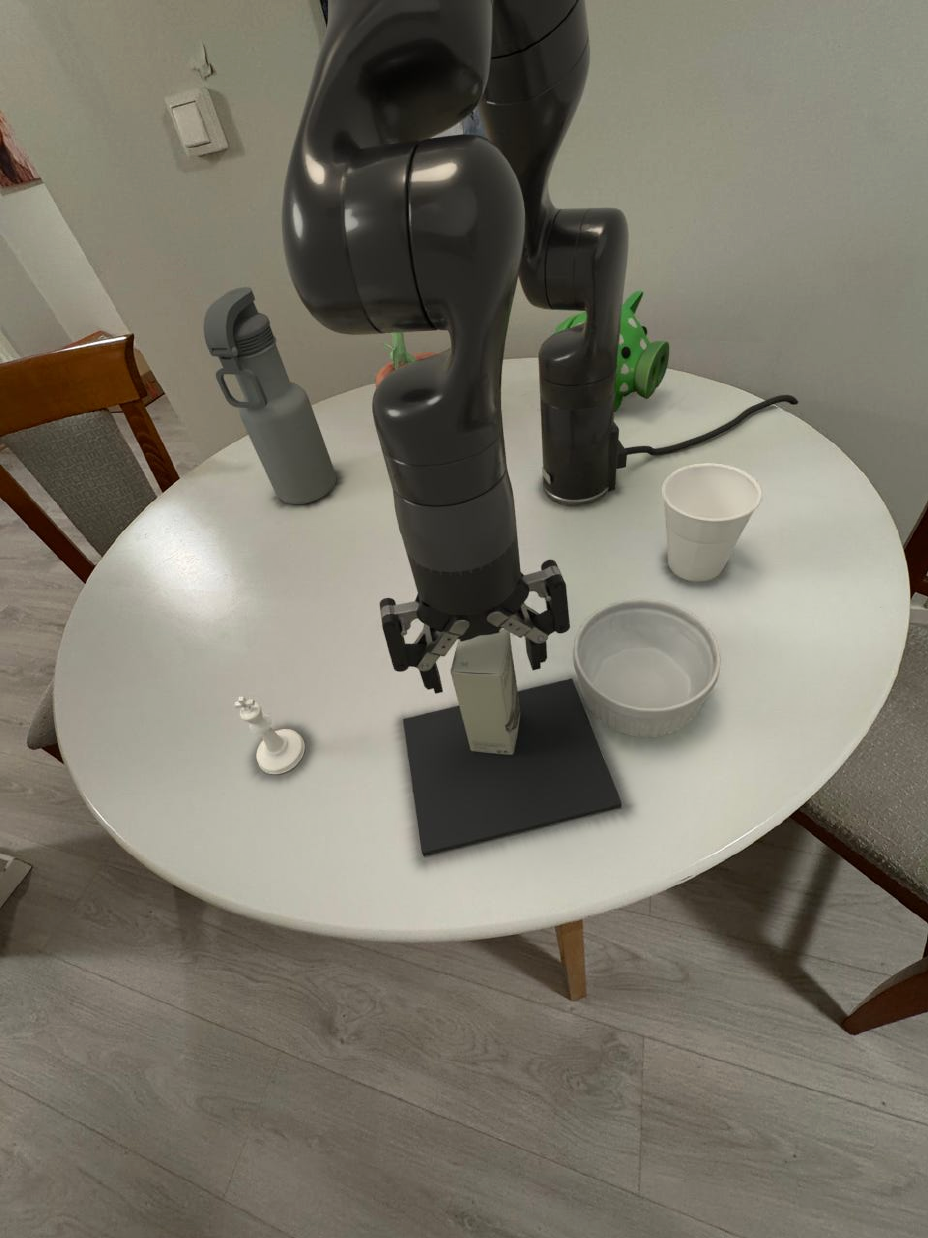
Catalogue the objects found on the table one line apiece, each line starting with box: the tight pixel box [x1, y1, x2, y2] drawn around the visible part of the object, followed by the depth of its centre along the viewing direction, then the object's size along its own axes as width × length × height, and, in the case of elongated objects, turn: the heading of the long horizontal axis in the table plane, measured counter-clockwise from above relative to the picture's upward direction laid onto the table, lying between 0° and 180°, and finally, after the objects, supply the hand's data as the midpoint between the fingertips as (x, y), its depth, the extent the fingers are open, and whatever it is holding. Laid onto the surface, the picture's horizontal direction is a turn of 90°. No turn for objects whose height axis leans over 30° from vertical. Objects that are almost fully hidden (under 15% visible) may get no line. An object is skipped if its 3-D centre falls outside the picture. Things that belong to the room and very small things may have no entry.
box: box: [450, 628, 520, 755], centre depth 53 cm, size 5×4×13 cm
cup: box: [661, 462, 763, 583], centre depth 65 cm, size 10×10×11 cm
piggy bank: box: [550, 290, 670, 414], centre depth 91 cm, size 14×18×15 cm
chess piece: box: [234, 696, 306, 775], centre depth 56 cm, size 5×5×10 cm
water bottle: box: [203, 286, 337, 505], centre depth 81 cm, size 10×10×28 cm
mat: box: [402, 678, 623, 857], centre depth 56 cm, size 18×14×1 cm
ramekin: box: [572, 598, 722, 738], centre depth 56 cm, size 13×13×7 cm
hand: (486, 673), depth 50 cm, fingers open, 8 cm apart
